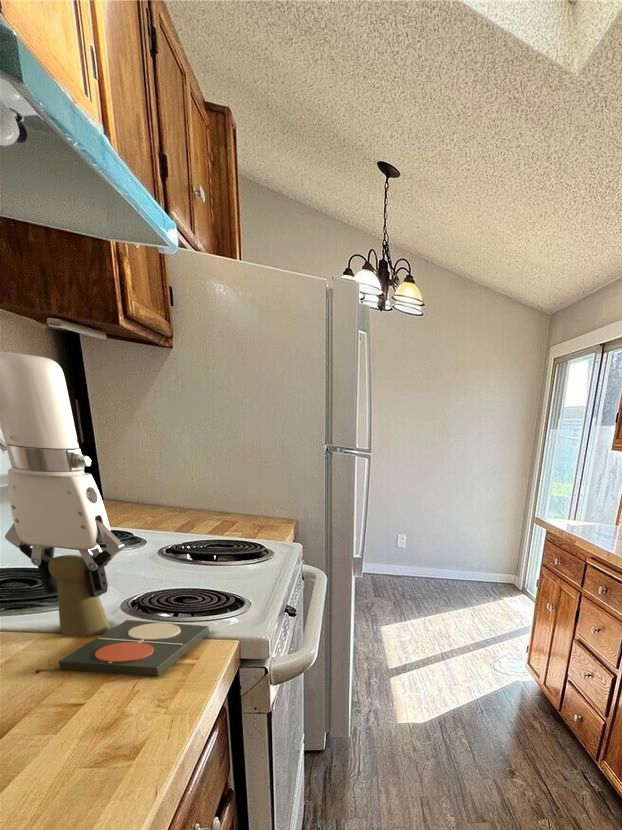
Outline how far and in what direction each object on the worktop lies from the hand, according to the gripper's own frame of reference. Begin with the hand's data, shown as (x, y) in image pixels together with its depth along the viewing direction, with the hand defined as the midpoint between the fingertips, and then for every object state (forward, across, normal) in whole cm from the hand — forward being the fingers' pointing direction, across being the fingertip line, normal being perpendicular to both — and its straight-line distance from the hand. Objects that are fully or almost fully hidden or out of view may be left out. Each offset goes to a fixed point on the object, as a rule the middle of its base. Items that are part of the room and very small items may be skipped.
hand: (77, 591), depth 81 cm
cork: (+6, 0, 0) cm, 6 cm away
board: (+6, -11, +6) cm, 14 cm away
